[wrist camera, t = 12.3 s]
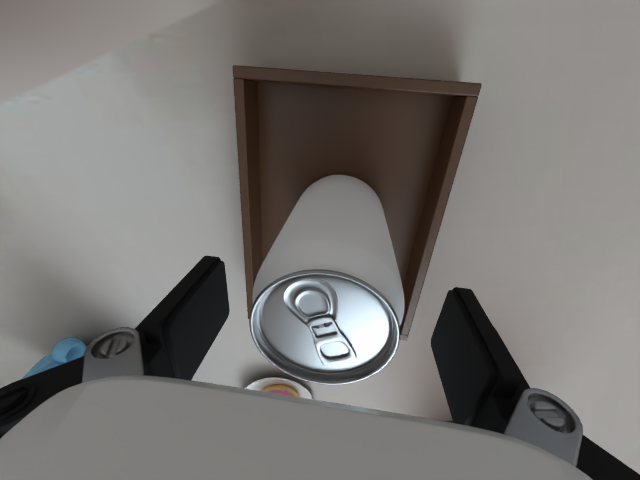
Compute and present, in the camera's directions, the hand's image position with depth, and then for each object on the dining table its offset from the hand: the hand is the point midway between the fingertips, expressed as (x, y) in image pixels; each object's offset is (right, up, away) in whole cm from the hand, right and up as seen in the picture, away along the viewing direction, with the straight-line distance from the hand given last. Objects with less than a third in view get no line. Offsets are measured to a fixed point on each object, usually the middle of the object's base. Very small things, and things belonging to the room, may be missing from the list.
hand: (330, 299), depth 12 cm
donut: (-7, -16, +22) cm, 28 cm away
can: (+1, +4, +10) cm, 11 cm away
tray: (+1, +5, +10) cm, 11 cm away
